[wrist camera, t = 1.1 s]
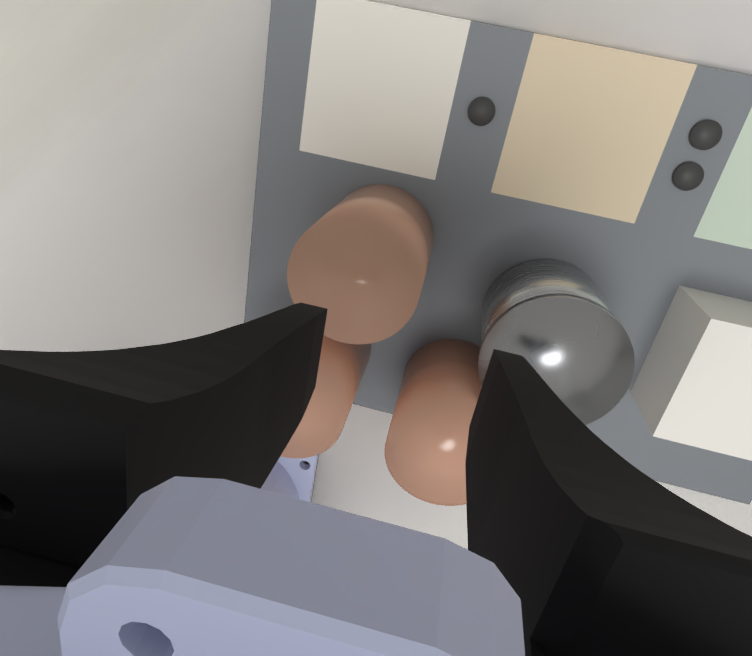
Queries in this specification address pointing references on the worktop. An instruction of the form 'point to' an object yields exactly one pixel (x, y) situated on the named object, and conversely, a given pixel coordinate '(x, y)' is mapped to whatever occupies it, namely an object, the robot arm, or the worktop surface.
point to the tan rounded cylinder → (364, 263)
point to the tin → (559, 334)
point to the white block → (700, 374)
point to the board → (511, 180)
